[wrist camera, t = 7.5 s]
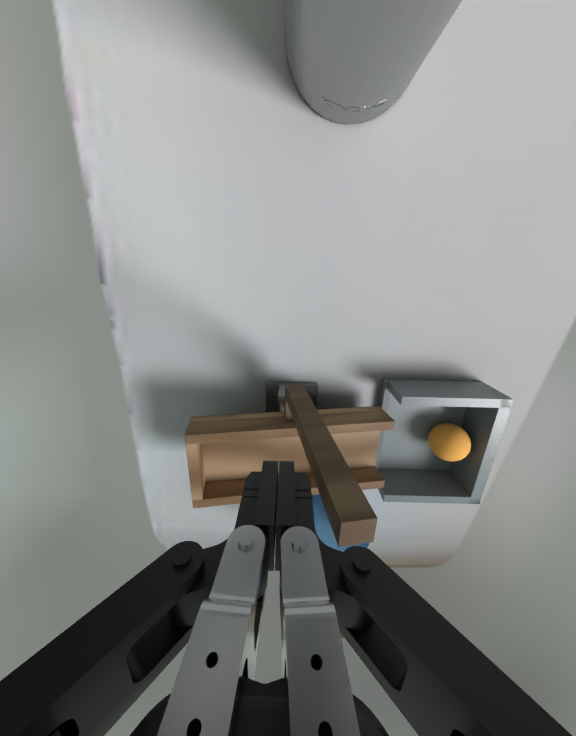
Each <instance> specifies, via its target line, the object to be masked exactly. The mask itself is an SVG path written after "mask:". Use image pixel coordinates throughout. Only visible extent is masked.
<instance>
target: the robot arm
mask: <svg viewBox="0 0 576 736" xmlns="http://www.w3.org/2000/svg"><path fill="white" fill-rule="evenodd" d="M461 1H462V0H286V47H287V54H288V62H289V67H290V70H291V73H292V76H293V80H294V82H295V84H296V86H297V88H298V90H299V92H300V94H301V96H302V97H303V98H304V100H305V101H306V102H307V103H308V105H309V106H310V107H311V108H312V109H313V110H314V111H316V112H317V113H318V114H320V115H321V116H322V117H324V118H326V119H329V120H331V121H333V122H336V123H342V124H358V123H363V122H366V121H369V120H371V119H374V118H376V117H377V116H379V115H381V114H382V113H384V112H385V111H387V110H388V109H389V108H390V107H391V106H392V105H393V104H394V103H395V102H396V101H397V100H398V99H399V98H400V96H401V95H402V93H403V92H404V91H405V89H406V88H407V86H408V85H409V83H410V82H411V80H412V79H413V77H414V75H415V74H416V72H417V71H418V69H419V67H420V66H421V64H422V63H423V61H424V59H425V58H426V56H427V55H428V53H429V51H430V50H431V49H432V47H433V46H434V44H435V42H436V41H437V39H438V38H439V36H440V35H441V33H442V31H443V30H444V28H445V27H446V25H447V23H448V22H449V20H450V19H451V17H452V15H453V14H454V12H455V11H456V9H457V7H458V6H459V4H460V3H461ZM275 535H276V549H275ZM274 553H275V570H276V571H280V592H279V593H280V594H279V597H280V627H281V654H282V655H281V656H282V679H279V680H276V681H273V682H270V683H268V684H262V683H259V682H256V681H254V678H255V664H256V655H257V648H258V641H259V635H260V627H261V620H262V613H263V607H264V599H265V590H266V587H267V578H268V571H273V570H274ZM340 632H341V634H342V635H343V636H344V637H345V639H346V640H347V641H348V643H349V644H350V645H351V647H352V648H353V649H354V651H355V652H356V653H357V655H358V656H359V657H360V659H361V660H362V661H363V663H364V664H365V665H366V667H367V668H368V669H369V670H370V672H371V673H372V674H373V676H374V677H375V678H376V680H377V681H378V682H379V683H380V685H381V686H382V688H383V689H384V690H385V691H386V693H387V694H388V695H389V697H390V698H391V699H392V701H393V702H394V703H395V705H396V706H397V707H398V709H399V710H400V711H401V713H402V714H403V715H404V717H405V718H406V719H407V721H408V722H409V723H410V725H411V726H412V727H413V728H414V730H415V731H416V732H417V734H418V735H419V736H572V735H571V734H570V733H569V732H568V731H566V730H565V729H564V728H563V727H562V726H561V725H560V724H559V723H558V722H557V721H556V720H555V719H553V718H552V717H551V716H550V715H549V714H548V713H547V712H546V711H545V710H544V709H543V708H542V707H540V706H539V705H538V704H537V703H536V702H535V701H534V700H533V699H532V698H531V697H530V696H529V695H527V694H526V693H525V692H524V691H523V690H522V689H521V688H520V687H519V686H518V685H516V684H515V683H514V682H513V681H512V680H511V679H510V678H509V677H508V676H507V675H506V674H505V673H503V672H502V671H501V670H500V669H499V668H498V667H497V666H496V665H495V664H494V663H493V662H492V661H490V660H489V659H488V658H487V657H486V656H485V655H484V654H483V653H482V652H481V651H480V650H478V649H477V648H476V647H475V646H474V645H473V644H472V643H471V642H470V641H469V640H468V639H467V638H466V637H464V636H463V635H462V634H461V633H460V632H459V631H458V630H457V629H456V628H455V627H454V626H452V625H451V624H450V623H449V622H448V621H447V620H446V619H445V618H444V617H443V616H442V615H441V614H439V613H438V612H437V611H436V610H435V609H434V608H433V607H432V606H431V605H430V604H428V602H426V601H425V600H424V599H423V598H422V597H421V596H420V595H419V594H418V593H417V592H416V591H415V590H413V589H412V588H411V587H410V586H409V585H408V584H407V583H406V582H405V581H403V579H401V578H400V577H399V576H398V575H397V574H396V573H395V572H394V571H393V570H392V569H391V568H390V567H388V566H387V565H386V564H385V563H384V562H383V561H382V560H381V559H380V558H379V557H378V556H377V555H375V554H374V553H373V552H372V551H371V550H369V549H367V548H365V547H362V546H351V547H349V548H347V549H346V550H345V551H344V552H342V551H339V550H336V549H333V548H331V547H329V546H327V545H326V544H324V543H323V542H322V541H321V540H320V539H319V537H318V535H317V533H316V530H315V523H314V513H313V503H312V493H311V483H310V479H309V478H308V476H307V475H306V473H298V472H295V471H294V461H279V477H278V461H265V460H263V465H262V472H254V471H252V472H251V473H250V474H249V475H248V477H247V478H246V479H245V484H244V489H243V493H242V498H241V502H240V507H239V512H238V516H237V521H236V525H235V529H234V531H233V532H232V533H231V534H230V535H229V537H228V539H227V540H225V541H224V542H222V543H220V544H218V545H215V546H212V547H209V548H205V549H202V547H201V546H200V545H199V544H198V543H196V542H193V541H184V542H181V543H178V544H176V545H174V546H173V547H172V548H170V549H169V550H168V551H166V552H165V553H164V554H163V555H161V556H160V557H159V558H157V559H156V560H155V561H154V562H153V563H151V564H150V565H148V566H147V567H146V568H145V569H143V570H142V571H141V572H140V573H138V574H137V575H136V576H134V577H133V578H132V579H131V580H129V581H128V582H127V583H125V584H124V585H123V586H122V587H120V588H119V589H118V590H116V591H115V592H114V593H113V594H111V595H110V596H109V597H108V598H106V599H105V600H104V601H102V602H101V603H100V604H98V605H97V606H96V607H95V608H93V609H92V610H91V611H90V612H88V613H87V614H86V615H84V616H83V617H82V618H81V619H79V620H78V621H77V622H76V623H74V624H73V625H72V626H70V627H69V628H68V629H67V630H65V631H64V632H63V633H61V634H60V635H59V636H57V637H56V638H55V639H54V640H52V641H51V642H50V643H49V644H47V645H46V646H45V647H44V648H42V649H41V650H40V651H38V652H37V653H36V654H34V655H33V656H32V657H31V658H29V659H28V660H27V661H26V662H24V663H23V664H22V665H20V666H19V667H18V668H17V669H15V670H14V671H13V672H11V673H10V674H9V675H8V676H6V677H5V678H4V679H3V680H1V681H0V736H104V735H105V734H106V733H107V732H108V731H109V730H110V729H111V728H112V726H113V725H114V724H115V723H116V722H117V721H118V720H119V719H120V718H121V716H122V715H123V714H124V713H125V712H126V711H127V710H128V709H129V707H130V706H131V705H132V704H133V703H134V702H135V701H136V700H137V699H138V698H139V696H140V695H141V694H142V693H143V692H144V691H145V690H146V689H147V687H148V686H149V685H150V684H151V683H152V682H153V681H154V680H155V679H156V677H157V676H158V675H159V674H160V673H161V672H162V671H163V670H164V669H165V667H166V666H167V665H168V664H169V663H170V662H171V661H172V660H173V659H174V658H175V656H176V655H177V654H178V653H179V652H180V650H182V649H183V647H184V646H185V645H186V644H187V643H188V644H187V647H186V650H185V654H184V656H183V659H182V662H181V665H180V668H179V671H178V674H177V678H176V681H175V683H174V686H173V689H172V692H171V694H169V695H168V696H166V697H165V698H164V699H163V700H162V701H160V702H159V703H158V704H157V705H156V706H155V707H154V708H153V709H152V710H151V711H150V712H149V713H148V714H147V715H146V716H145V717H144V719H143V720H142V721H141V722H140V723H139V725H138V726H137V727H136V728H135V730H134V731H133V732H132V733H131V735H130V736H389V735H388V733H387V732H386V730H385V729H384V727H383V726H382V724H381V723H380V722H379V720H378V719H377V718H376V716H375V715H374V714H373V713H372V711H371V710H370V709H369V708H368V707H367V706H366V705H365V704H364V703H363V702H362V701H361V700H359V699H358V698H357V697H356V696H354V695H353V694H352V690H351V685H350V681H349V676H348V670H347V665H346V661H345V656H344V651H343V646H342V640H341V635H340Z"/></svg>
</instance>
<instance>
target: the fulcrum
mask: <svg viewBox="0 0 576 736" xmlns="http://www.w3.org/2000/svg"><path fill="white" fill-rule="evenodd" d="M287 384H303V385H304V387H305V389H306V391H307V392H308V394H309V396H310V398H311V400H312V401H313V403H314V405H315V407H316V406H317V390H318V384H317V383H297V382H266V413H267V412H284V406H285V387H286V385H287Z"/></svg>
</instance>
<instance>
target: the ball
mask: <svg viewBox="0 0 576 736" xmlns="http://www.w3.org/2000/svg"><path fill="white" fill-rule="evenodd" d="M428 443H429V447H430V449H431V450H432V452H433V453H434V454H435V455H436V456H438V457H439V458H441V459H443V460H446V461H459V460H462V459H463V458H465V457H466V456H467V455H468V454H469V452H470V449H471V440H470V437H469V435H468V434H467V432H466V431H465V430H464V429H462V428H461V427H460V426H458V425H455V424H451V423H442V424H439V425H437V426H435V427H434V428H433V429H432V430H431V431H430V433H429V436H428Z"/></svg>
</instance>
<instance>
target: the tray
mask: <svg viewBox="0 0 576 736" xmlns="http://www.w3.org/2000/svg"><path fill="white" fill-rule="evenodd" d="M513 400H514V399H512V398H510V397H508V396H506V395H505V394H503V393H501V392H499V391H498V390H496V389H494V388H492V387H491V386H489V385H487V384H485V383H483V382H480V381H441V380H402V379H383V384H382V391H381V398H380V404H379V406H380V407H381V408H382V409H383V410H384V411H385V412H386V413H387V414H388V415H389V416H390V417H391V418H392V419H394V420H395V426H394V430H381V431H380V437H379V444H378V450H377V456H376V463H375V467H376V468H377V470H378V471H379V473H380V474H381V476H382V477H383V478H384V480H385V483H384V487H383V488H378V489H379V492H380V494H381V497H382V499H383V501H384V502H420V503H459V504H479V503H480V500H481V497H482V494H483V491H484V488H485V485H486V482H487V479H488V476H489V473H490V470H491V467H492V464H493V461H494V458H495V455H496V452H497V449H498V446H499V443H500V440H501V437H502V434H503V430H504V427H505V424H506V421H507V418H508V415H509V412H510V409H511V406H512V403H513ZM442 423H451V424H455V425H458V426H460V427H461V428H462V429H464V430H465V431H466V432H467V434H468V435H469V437H470V440H471V449H470V452H469V454H468V455H467V456H466V457H465V458H463V459H462V460H459V461H446V460H443V459H441V458H439V457H438V456H436V455H435V454H434V453H433V452H432V450H431V449H430V447H429V443H428V436H429V433H430V431H431V430H432V429H433V428H434V427H435V426H437V425H439V424H442Z"/></svg>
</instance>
